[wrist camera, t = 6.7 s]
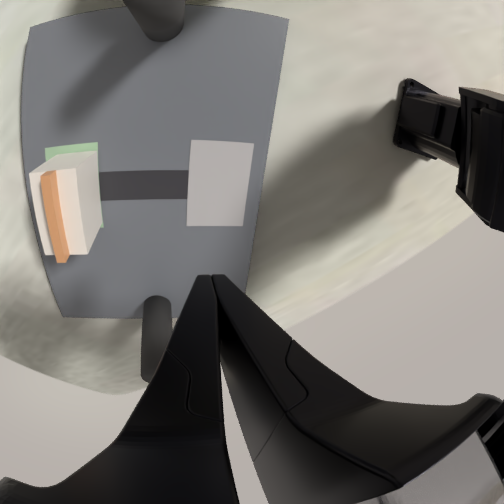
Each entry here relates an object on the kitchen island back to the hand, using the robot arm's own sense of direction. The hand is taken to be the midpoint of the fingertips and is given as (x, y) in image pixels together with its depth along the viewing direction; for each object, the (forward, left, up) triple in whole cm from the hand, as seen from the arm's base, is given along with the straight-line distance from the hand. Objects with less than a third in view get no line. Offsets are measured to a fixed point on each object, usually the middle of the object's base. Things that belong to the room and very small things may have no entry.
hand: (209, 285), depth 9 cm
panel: (+4, 0, -12) cm, 12 cm away
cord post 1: (+3, -10, -11) cm, 15 cm away
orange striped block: (+8, 0, -10) cm, 13 cm away
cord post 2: (+3, +11, -11) cm, 15 cm away
